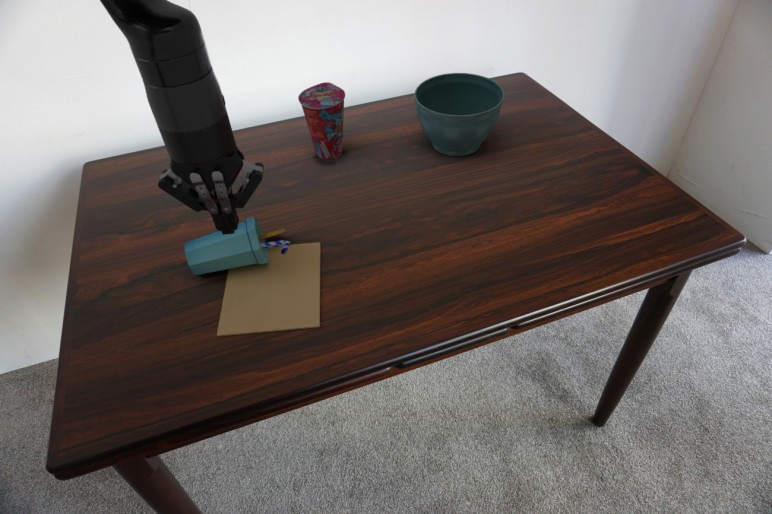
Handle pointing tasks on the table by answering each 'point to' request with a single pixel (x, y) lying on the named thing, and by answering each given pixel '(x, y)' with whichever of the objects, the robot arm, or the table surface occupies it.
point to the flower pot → (458, 111)
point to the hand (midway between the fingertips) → (229, 230)
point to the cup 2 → (324, 118)
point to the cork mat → (273, 293)
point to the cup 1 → (231, 248)
